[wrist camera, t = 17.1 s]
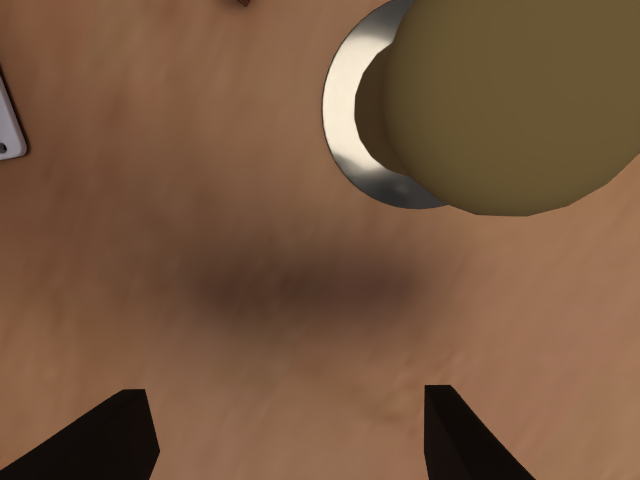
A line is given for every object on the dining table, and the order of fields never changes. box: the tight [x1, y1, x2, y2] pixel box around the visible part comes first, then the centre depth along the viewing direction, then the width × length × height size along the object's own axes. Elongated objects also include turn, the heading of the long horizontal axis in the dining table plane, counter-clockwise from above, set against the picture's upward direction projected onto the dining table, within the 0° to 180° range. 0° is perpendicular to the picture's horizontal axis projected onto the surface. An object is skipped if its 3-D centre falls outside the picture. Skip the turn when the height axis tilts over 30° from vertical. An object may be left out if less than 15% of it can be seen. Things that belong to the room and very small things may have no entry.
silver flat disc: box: [322, 0, 448, 209], centre depth 17 cm, size 9×9×1 cm
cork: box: [354, 0, 640, 216], centre depth 11 cm, size 6×6×11 cm
